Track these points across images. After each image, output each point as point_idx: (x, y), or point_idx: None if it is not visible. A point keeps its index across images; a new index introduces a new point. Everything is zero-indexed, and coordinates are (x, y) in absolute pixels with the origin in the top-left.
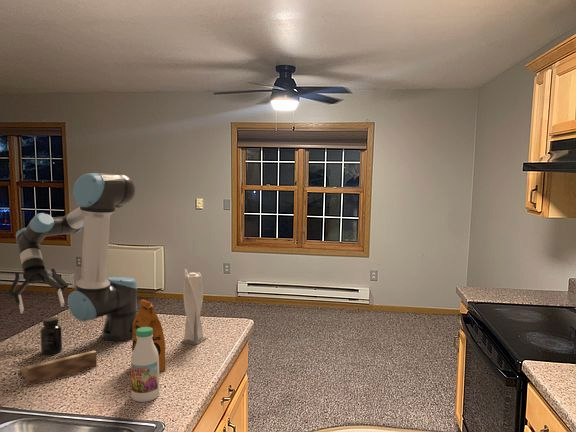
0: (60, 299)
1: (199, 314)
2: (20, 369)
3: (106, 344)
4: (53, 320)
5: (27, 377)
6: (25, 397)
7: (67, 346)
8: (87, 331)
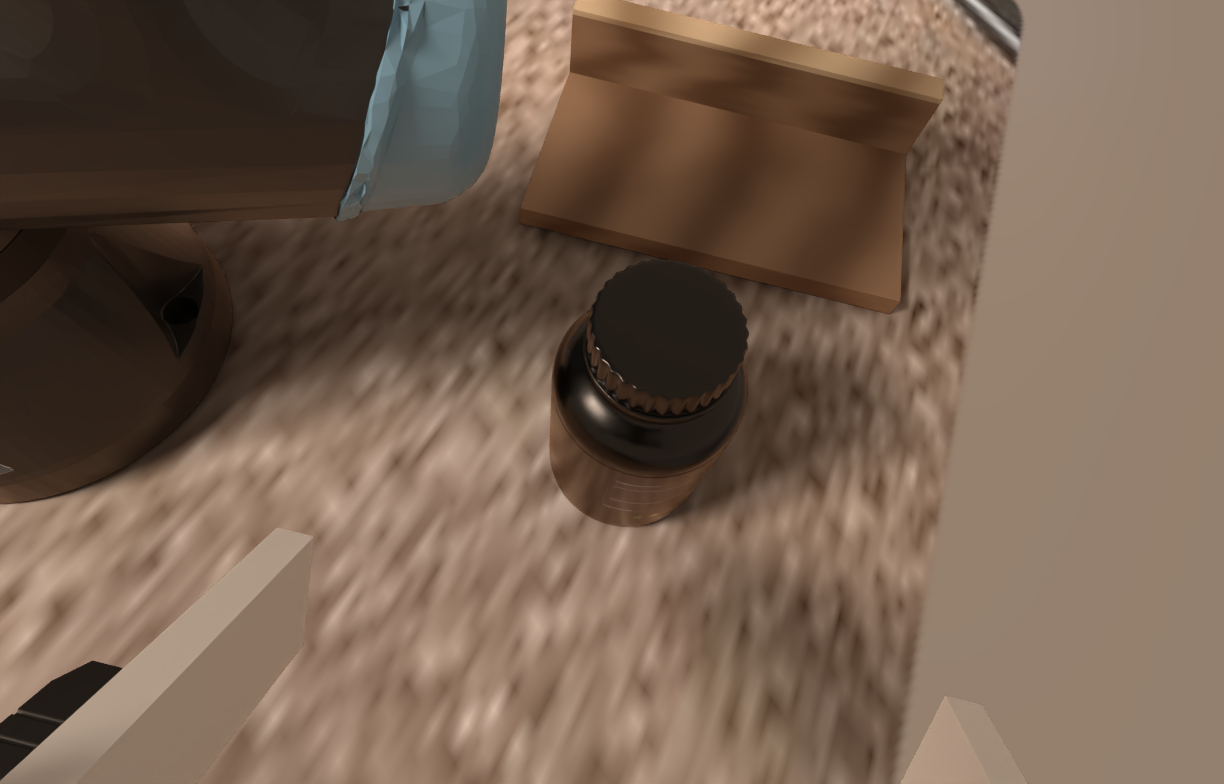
0: (237, 668)
1: None
2: (895, 304)
3: (302, 268)
4: (670, 260)
5: (910, 145)
6: (936, 69)
7: (490, 461)
8: None
